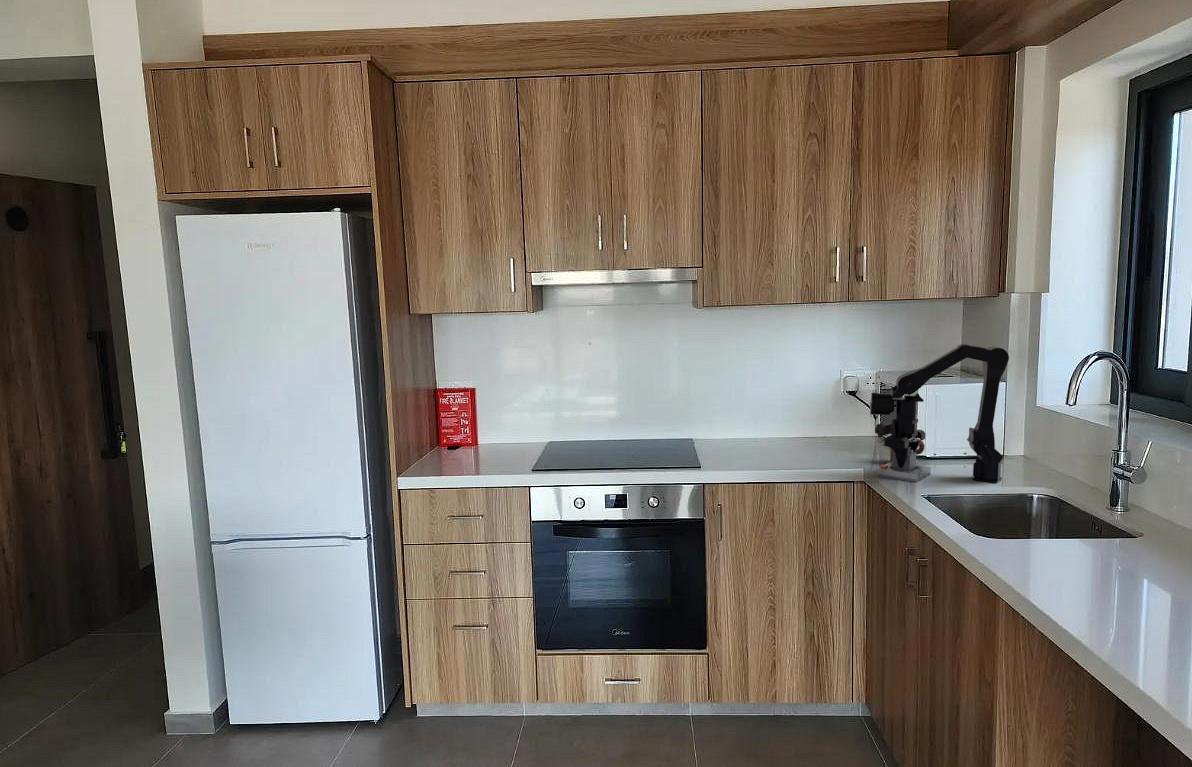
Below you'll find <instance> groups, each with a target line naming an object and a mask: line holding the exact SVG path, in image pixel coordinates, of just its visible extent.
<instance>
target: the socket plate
mask: <svg viewBox="0 0 1192 767" xmlns="http://www.w3.org/2000/svg"><path fill="white" fill-rule="evenodd" d="M931 469H932V467H931V466H926V465H919V464H916V469H914V470H912V471H905V470H898V469H892V462H888V463H885V464H882V465H881V464H880V466H879V467H876V477H882V478H885V479H887V478H888V479H894V480H901V481H906V482H913V483H918V482H920V481H922V480H923V479H926V478H927V477H929V476H931V472H932V470H931Z"/></svg>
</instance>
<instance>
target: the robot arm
mask: <svg viewBox="0 0 1192 767" xmlns="http://www.w3.org/2000/svg"><path fill="white" fill-rule="evenodd" d="M965 359H971V360H977V361H981V362H982V370H983V381H982V383H983V384H982V389H981V396H980V400H979V401H980V402H979V408H978V416H977V421H976V424H975V427H969V428H968V438H966V441H967V442H968V443H969V444H968V445H969V447H970V448H971V450H972V451H973V452H974V453H975V454H976V456H977V457H976V458H975V462H974V463H973V467H972V468H973V470H972V480H973V481H979V482H980V481H981V482H988V483H992V484H993V483H994V484H998V482H1000V481H1001V480H1003V477H1001V476H1002V474H1001V472H1002V470H1001V469H1002V460H1003V458H1004V456H1003V455H1002V454H1001V453H1000V451H998V450H997V449H996V446H995V444H996V443H995V441H996V440H995V439H996V438H995V432H994V420H995V414H996V407H997V401H998V396H999V388H1000V382H1001V378H1002V377H1003V374H1004V373H1005V371H1006V368H1007V366H1008V363H1009V359H1010V355H1009V353H1008V351H1007V350H1005V349H1004V348H1002V347H999V346H993V345H992V346H989V347H987V348H986V347H981V346H977V345H976V346H974V345H970V344H967V343H960V344H958V345H957V346H956V347H955V348H952V349H951V350H949V351H948V352H947V353H944V354H942V355H941V356H940V357H938V358H936V359H934V360H933V361H931V362H929V363H928V364H926V365H924V366H922V367H920V368H917V369H913V370H910V371H908V372H905V373H903V374H900V375H899V376H898V377H897V378H896V382H895V385H894V387H893V388H891V390H890V391H888V392H889V393H882V392H880V393H879V392H873V391H872V392H871V394H870V396H871V397H870V402H869V413H870V414H869V415H871V416H872V415H873V416H874V415H875V416H877V415H878V416H890V415H891V414H893V413H894V412H895V418H893V419H892V420H891V422H890V423H887V424H885V423H883V422H881V423H878V424H876V426H875V428H874V429H875V430H874V433H875V434H877V436H878V438H882V437H883V436H887V437H885V438H884V439H883V446H884V447H888V448H892V449H893V450H894V452H895V455H896V459H897V462H898V466H899V467H900V468H902V467H903V466H904V463H905V461H906V458H907V456H908V453H909V451H910V450H913V453H915V452H916V451H917V449H919V445H920V444H921V441H917V439H920V440H922V441H924V440H926V432H925V431H924V430H922V429H917V426H916V424H918V423H919V418H917V403H918V402H919V403H921V402H922V403H924V402H925V400H924V399H923V398H922V397H921V396H920V394H919V393H918V392H917V391H918V390H919V389H921V388H922V387H923V386H925V384H926V383H927V382H928V381H929V380H930V379H932V378H934V377H935V376H937V375H939V374H940V373H943V372H944V371H946V370H948V369H950V368H951V367H953V366H954V365H957V364H958V363H960V362H962V361H963V360H965ZM914 393H915V394H914ZM888 435H889V436H888ZM915 438H916V439H915Z"/></svg>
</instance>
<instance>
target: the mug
mask: <svg viewBox="0 0 1192 767" xmlns="http://www.w3.org/2000/svg"><path fill="white" fill-rule="evenodd" d="M915 439H917V441H921V444H920V445H919V447H918V449H917V451H916V452H915V453H916V456H917V455H921V454H922V453H924V450H925V447H926V446H925V443H924V440H920V438H915ZM889 448H890V447H889ZM889 452H890V455H889V456H890V457H889V459H890V460H889V461H890V462H892V457H893V453H895V452H894V450H893V449H892V448H890V451H889Z"/></svg>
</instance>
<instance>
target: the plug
mask: <svg viewBox="0 0 1192 767" xmlns="http://www.w3.org/2000/svg"><path fill="white" fill-rule="evenodd" d="M916 461H917V455H916V453H913V450H910V451H909V453H908V456H907V458H906V461H905V463H904V466H903V467H902V468H900V467H899V466H898V462H897V459H896V455H895V453H893V457H892V469H898V470H905V471H912V470H914V469H916V465H917V464H916V463H917V462H916Z"/></svg>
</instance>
